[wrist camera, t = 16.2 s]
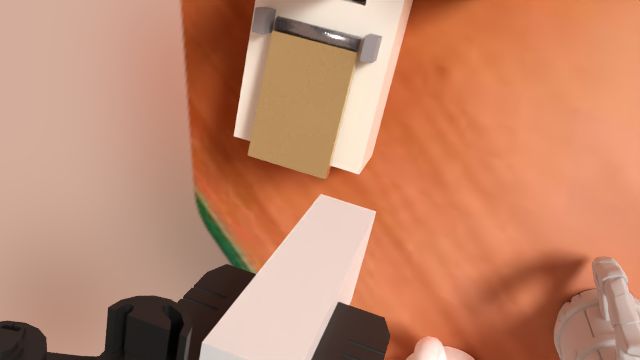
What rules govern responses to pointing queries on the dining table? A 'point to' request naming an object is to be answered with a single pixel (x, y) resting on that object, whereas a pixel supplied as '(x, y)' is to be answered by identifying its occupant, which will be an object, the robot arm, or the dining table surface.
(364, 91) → the socket block
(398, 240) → the dining table surface
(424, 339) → the mug
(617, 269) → the mug
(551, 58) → the dining table surface
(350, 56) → the brass flap
